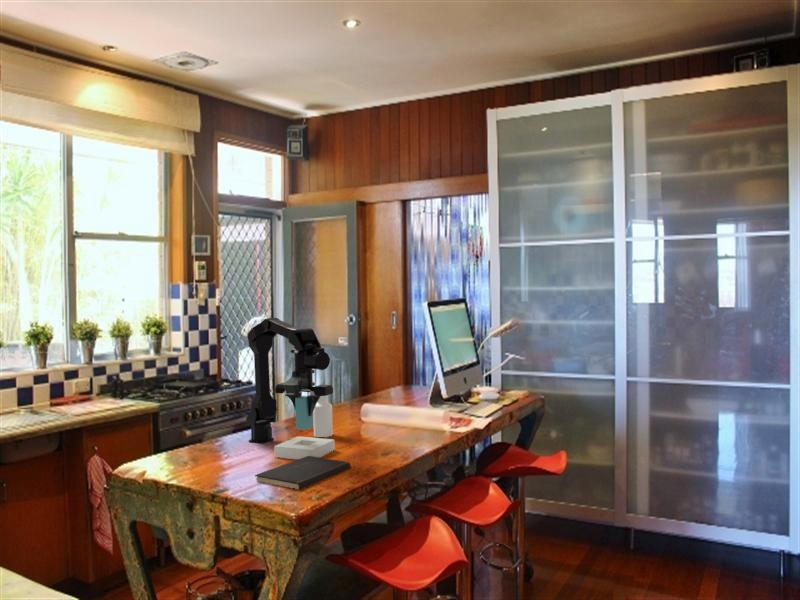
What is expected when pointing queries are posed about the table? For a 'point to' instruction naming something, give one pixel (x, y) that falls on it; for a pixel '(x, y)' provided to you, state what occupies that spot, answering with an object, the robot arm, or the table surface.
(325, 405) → the white bottle
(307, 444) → the socket block
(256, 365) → the robot arm
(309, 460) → the hardcover book
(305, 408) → the peg
